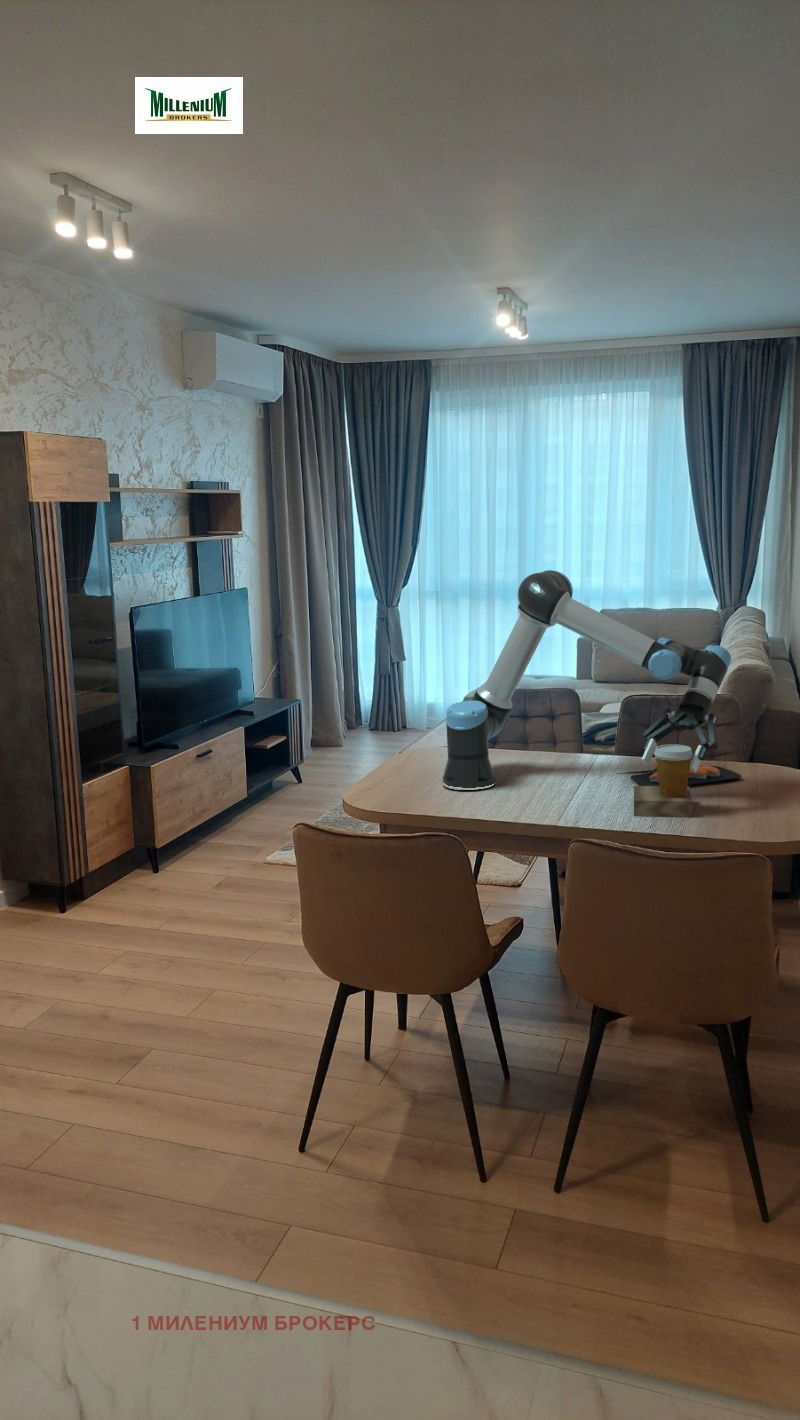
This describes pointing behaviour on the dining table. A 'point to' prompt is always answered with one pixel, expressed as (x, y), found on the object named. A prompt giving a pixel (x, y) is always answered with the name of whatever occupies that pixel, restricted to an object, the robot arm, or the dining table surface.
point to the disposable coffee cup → (673, 769)
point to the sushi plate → (701, 776)
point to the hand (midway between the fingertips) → (668, 765)
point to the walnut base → (660, 803)
